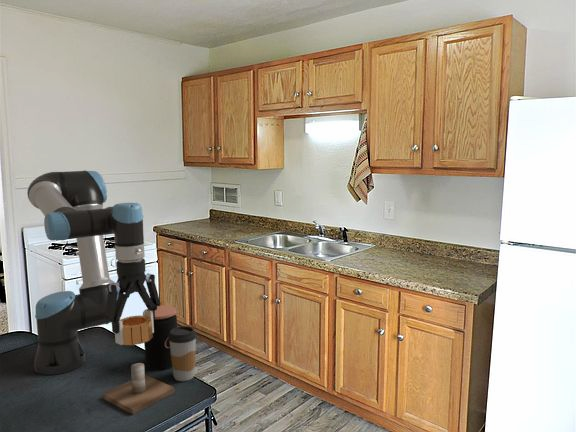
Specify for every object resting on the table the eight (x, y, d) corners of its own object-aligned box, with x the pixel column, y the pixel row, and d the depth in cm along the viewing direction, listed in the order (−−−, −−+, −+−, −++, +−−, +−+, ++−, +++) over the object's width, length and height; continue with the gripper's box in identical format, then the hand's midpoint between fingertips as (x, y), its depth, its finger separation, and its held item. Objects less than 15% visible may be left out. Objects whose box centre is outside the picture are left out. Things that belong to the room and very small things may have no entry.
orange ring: (111, 340, 128) (110, 322, 128) (139, 329, 136) (138, 313, 135) (131, 347, 123) (129, 330, 122) (159, 336, 130) (158, 319, 130)
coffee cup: (186, 367, 149) (184, 323, 146) (203, 375, 143) (201, 329, 141) (164, 377, 142) (162, 331, 140) (181, 386, 137) (179, 338, 135)
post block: (103, 398, 130) (101, 368, 129) (144, 378, 142) (142, 351, 140) (133, 414, 122) (131, 383, 121) (174, 392, 133) (173, 363, 132)
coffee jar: (170, 372, 146) (167, 317, 143) (139, 369, 148) (136, 315, 145) (184, 357, 156) (182, 306, 153) (155, 354, 158) (152, 304, 156)
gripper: (101, 269, 115) (107, 354, 118) (171, 253, 133) (174, 328, 136) (85, 265, 120) (91, 347, 123) (154, 250, 137) (158, 322, 140)
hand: (135, 337), depth 129 cm, fingers closed on orange ring, 9 cm apart
